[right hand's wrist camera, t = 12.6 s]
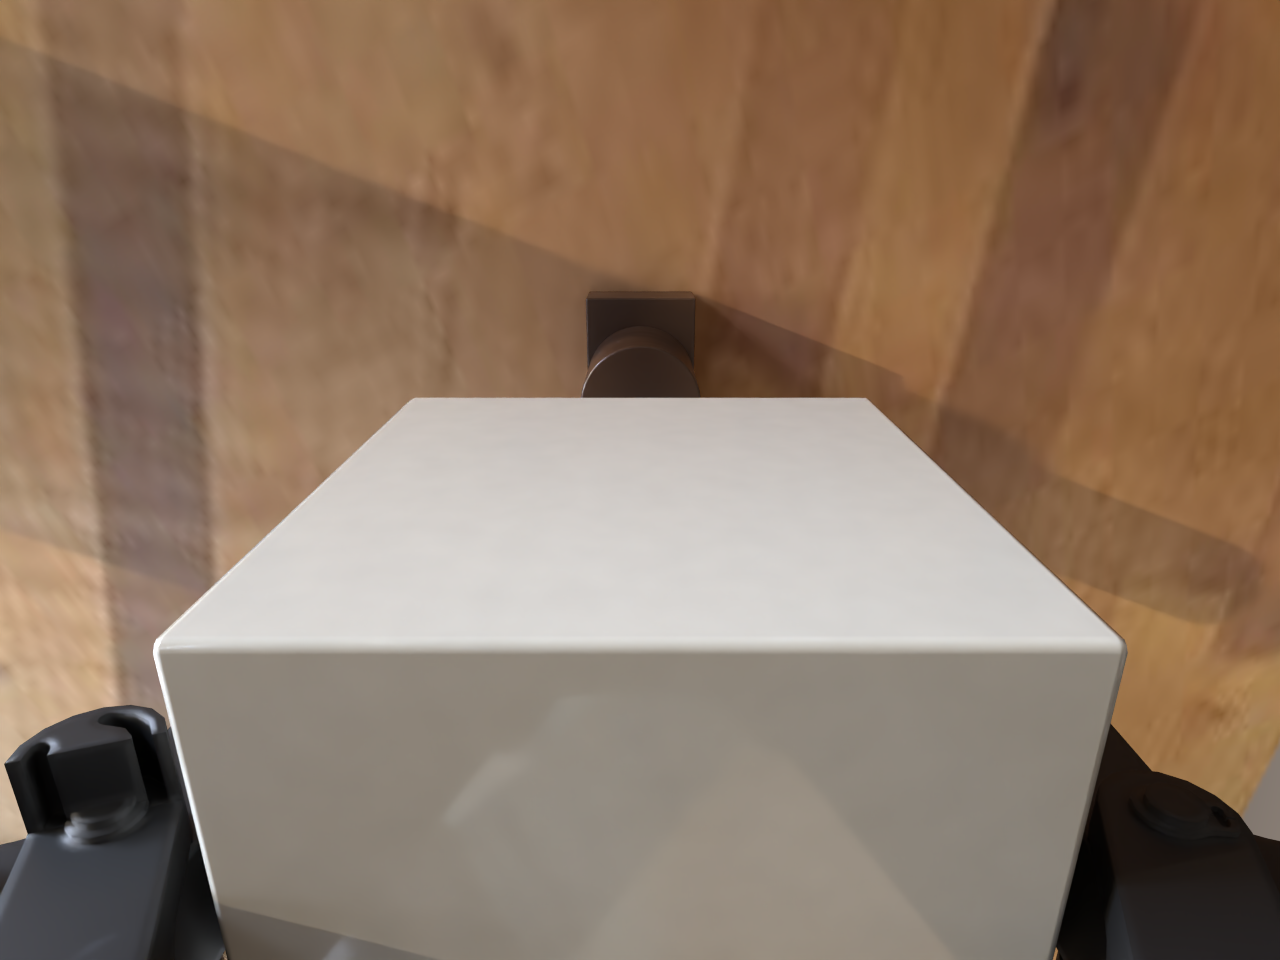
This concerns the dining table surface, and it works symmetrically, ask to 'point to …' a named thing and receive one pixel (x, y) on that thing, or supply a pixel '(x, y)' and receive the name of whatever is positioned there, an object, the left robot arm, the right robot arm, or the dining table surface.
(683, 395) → the walnut stand
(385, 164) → the dining table surface
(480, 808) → the cap block
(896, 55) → the dining table surface
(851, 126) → the dining table surface
